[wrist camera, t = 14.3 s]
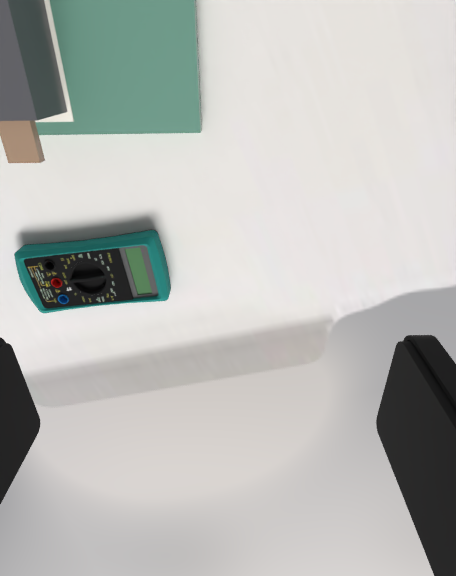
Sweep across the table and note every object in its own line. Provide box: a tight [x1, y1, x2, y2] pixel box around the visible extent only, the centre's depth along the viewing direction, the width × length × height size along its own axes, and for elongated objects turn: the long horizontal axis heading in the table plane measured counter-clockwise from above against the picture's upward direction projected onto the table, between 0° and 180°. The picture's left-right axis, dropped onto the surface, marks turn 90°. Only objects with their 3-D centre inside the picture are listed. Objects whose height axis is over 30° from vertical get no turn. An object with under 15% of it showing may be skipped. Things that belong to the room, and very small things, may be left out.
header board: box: [35, 0, 202, 135], centre depth 27 cm, size 22×14×5 cm, turn 91°
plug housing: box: [0, 0, 67, 163], centre depth 27 cm, size 4×14×6 cm, turn 1°
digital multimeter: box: [14, 230, 171, 313], centre depth 39 cm, size 7×15×3 cm, turn 97°
